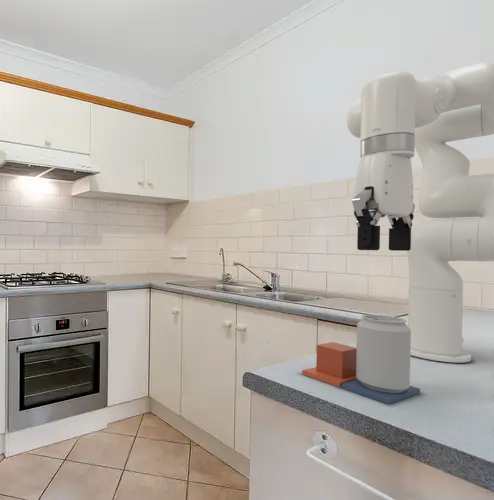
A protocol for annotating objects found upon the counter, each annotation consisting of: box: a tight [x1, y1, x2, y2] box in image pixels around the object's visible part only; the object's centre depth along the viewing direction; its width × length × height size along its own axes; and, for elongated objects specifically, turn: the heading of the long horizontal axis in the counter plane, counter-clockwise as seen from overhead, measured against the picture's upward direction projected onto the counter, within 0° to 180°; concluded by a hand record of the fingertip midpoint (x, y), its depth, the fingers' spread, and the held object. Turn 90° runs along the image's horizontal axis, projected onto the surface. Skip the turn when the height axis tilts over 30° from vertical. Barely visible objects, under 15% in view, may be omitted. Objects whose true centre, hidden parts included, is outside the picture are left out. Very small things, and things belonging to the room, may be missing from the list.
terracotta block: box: [315, 341, 357, 379], centre depth 69 cm, size 5×5×5 cm
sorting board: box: [301, 366, 421, 405], centre depth 66 cm, size 10×15×1 cm, turn 28°
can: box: [356, 314, 411, 393], centre depth 63 cm, size 8×8×12 cm
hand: (384, 250), depth 62 cm, fingers open, 9 cm apart
